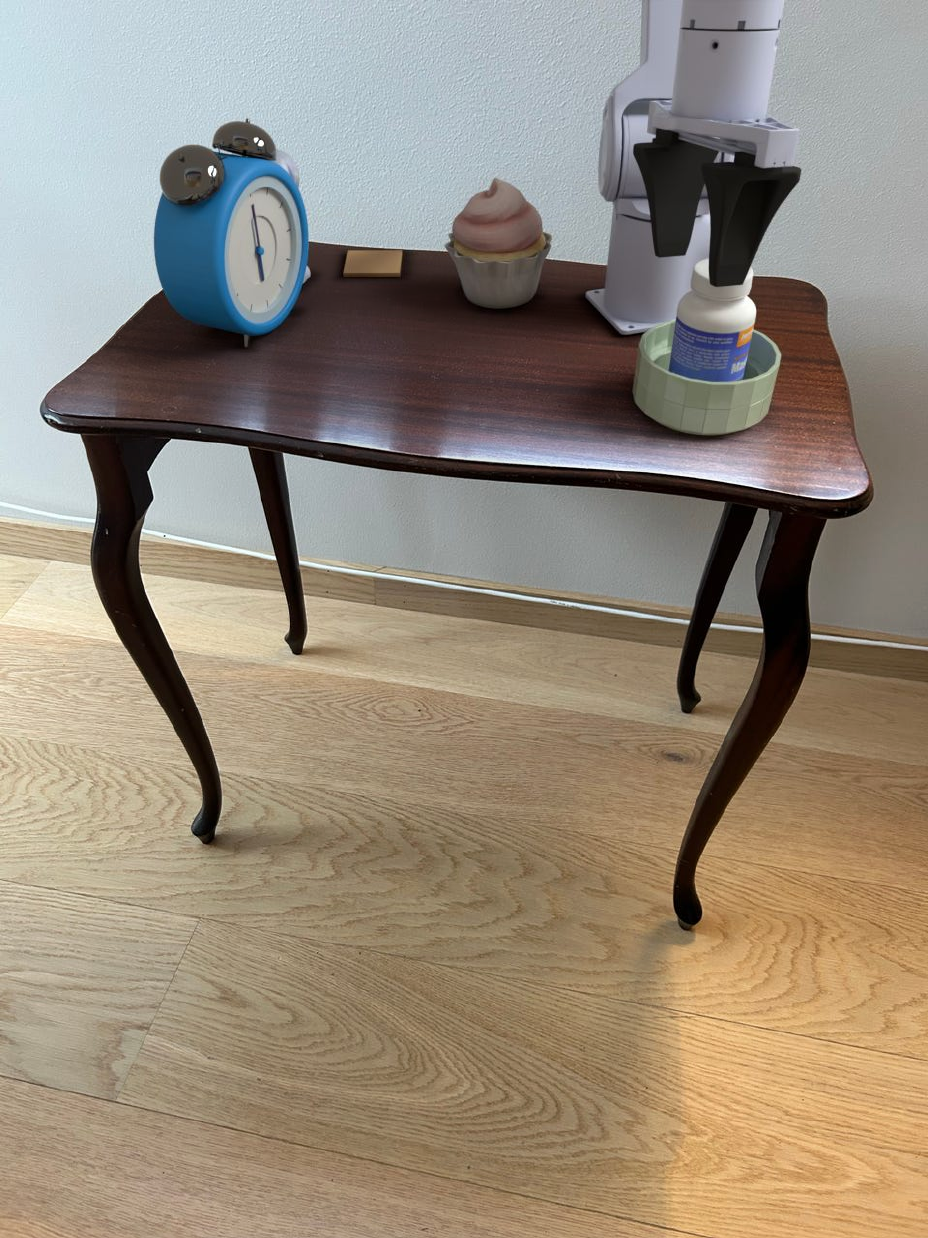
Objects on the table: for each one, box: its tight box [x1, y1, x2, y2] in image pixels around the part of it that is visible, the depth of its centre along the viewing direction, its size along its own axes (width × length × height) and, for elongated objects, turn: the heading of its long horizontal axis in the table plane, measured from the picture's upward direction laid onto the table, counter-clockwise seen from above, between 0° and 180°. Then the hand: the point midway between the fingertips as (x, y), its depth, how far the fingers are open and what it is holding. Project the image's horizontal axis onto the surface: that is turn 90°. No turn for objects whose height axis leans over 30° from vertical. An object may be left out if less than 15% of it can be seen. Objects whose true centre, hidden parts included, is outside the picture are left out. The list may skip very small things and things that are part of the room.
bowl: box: [632, 320, 782, 436], centre depth 70 cm, size 10×10×4 cm
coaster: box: [342, 249, 403, 278], centre depth 90 cm, size 5×5×1 cm
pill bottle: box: [668, 259, 757, 382], centre depth 68 cm, size 5×5×10 cm
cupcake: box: [444, 177, 553, 309], centre depth 81 cm, size 9×9×10 cm
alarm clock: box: [153, 118, 310, 348], centre depth 76 cm, size 13×6×15 cm, turn 156°
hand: (697, 269), depth 63 cm, fingers open, 7 cm apart
